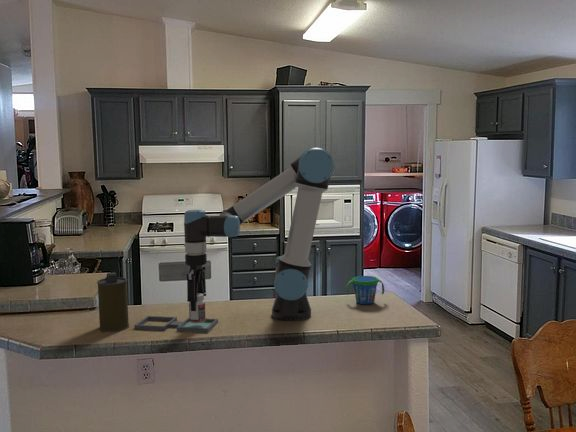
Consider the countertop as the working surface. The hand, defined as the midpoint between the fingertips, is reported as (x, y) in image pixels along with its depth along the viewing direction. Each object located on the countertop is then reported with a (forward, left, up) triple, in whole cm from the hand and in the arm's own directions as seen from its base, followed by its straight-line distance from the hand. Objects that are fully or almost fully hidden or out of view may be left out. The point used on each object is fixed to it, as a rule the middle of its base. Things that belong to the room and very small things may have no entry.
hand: (197, 316), depth 208 cm
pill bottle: (0, 0, -2) cm, 2 cm away
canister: (+30, +5, -4) cm, 31 cm away
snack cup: (-58, -41, -4) cm, 71 cm away
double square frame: (+8, 0, -4) cm, 9 cm away
